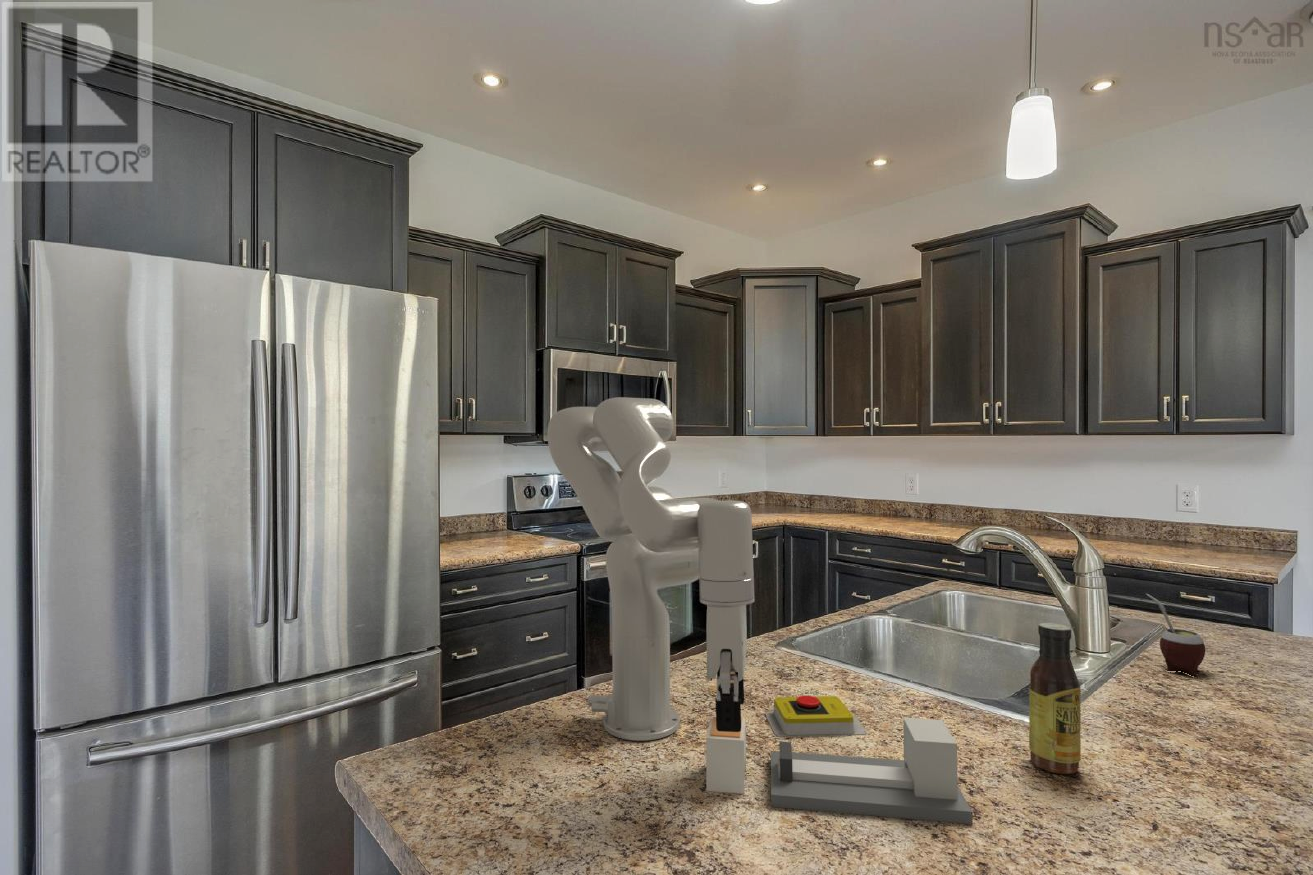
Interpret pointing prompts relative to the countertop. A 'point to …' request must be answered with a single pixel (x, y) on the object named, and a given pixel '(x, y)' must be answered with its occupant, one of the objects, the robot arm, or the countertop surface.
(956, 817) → the rail board
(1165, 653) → the mate gourd
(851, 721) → the emergency button
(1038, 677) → the sauce bottle
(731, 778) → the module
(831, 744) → the countertop surface
